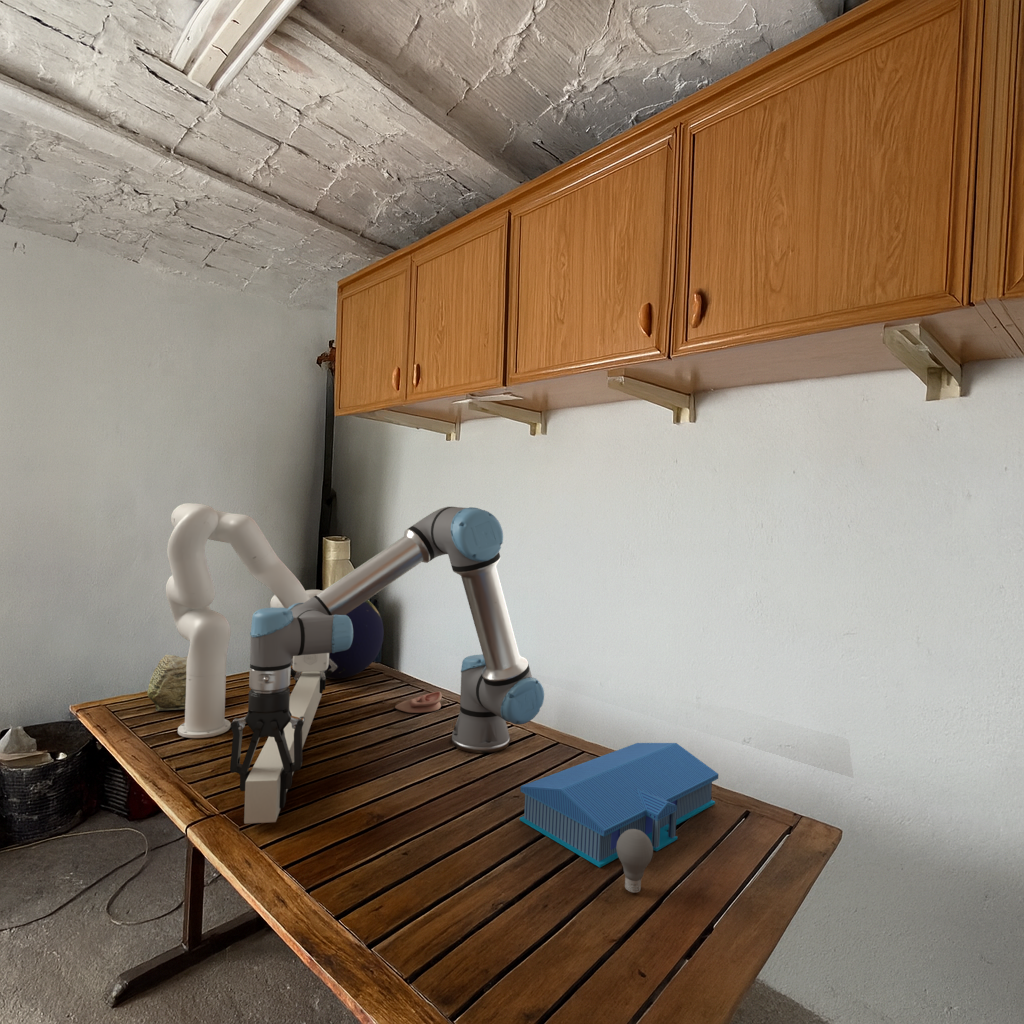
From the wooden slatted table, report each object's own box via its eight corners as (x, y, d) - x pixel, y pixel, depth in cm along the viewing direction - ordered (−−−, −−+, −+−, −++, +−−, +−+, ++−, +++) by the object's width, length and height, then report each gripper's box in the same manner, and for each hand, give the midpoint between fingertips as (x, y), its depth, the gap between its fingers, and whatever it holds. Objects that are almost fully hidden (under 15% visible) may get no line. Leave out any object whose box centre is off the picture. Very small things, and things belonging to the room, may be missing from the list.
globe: (273, 681, 212) (276, 592, 212) (330, 661, 240) (333, 582, 239) (347, 695, 201) (350, 601, 200) (398, 673, 229) (401, 590, 228)
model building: (614, 876, 110) (616, 818, 109) (518, 819, 128) (520, 770, 127) (729, 809, 136) (731, 762, 136) (635, 769, 154) (637, 729, 154)
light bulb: (610, 879, 108) (613, 822, 108) (644, 879, 109) (647, 822, 109) (619, 902, 102) (622, 840, 102) (655, 901, 103) (658, 840, 103)
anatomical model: (391, 697, 188) (405, 686, 200) (390, 710, 188) (404, 699, 200) (433, 702, 186) (445, 691, 197) (433, 715, 186) (445, 703, 197)
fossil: (144, 707, 182) (145, 655, 182) (212, 696, 194) (213, 647, 194) (151, 716, 175) (153, 662, 175) (221, 703, 188) (223, 653, 188)
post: (302, 696, 193) (303, 670, 193) (321, 695, 194) (322, 669, 194) (244, 823, 119) (245, 781, 118) (275, 822, 120) (277, 780, 119)
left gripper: (279, 634, 183) (277, 696, 183) (341, 634, 186) (338, 695, 186) (284, 629, 190) (282, 688, 191) (343, 629, 193) (341, 688, 194)
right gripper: (213, 694, 118) (208, 817, 119) (316, 693, 122) (312, 812, 122) (223, 683, 126) (219, 798, 126) (321, 682, 129) (317, 794, 130)
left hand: (310, 691), depth 189 cm, fingers closed on post, 5 cm apart
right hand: (265, 805), depth 124 cm, fingers closed on post, 6 cm apart
